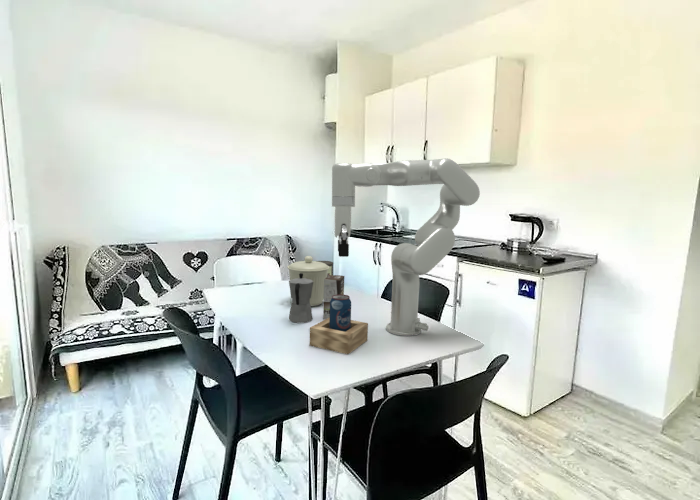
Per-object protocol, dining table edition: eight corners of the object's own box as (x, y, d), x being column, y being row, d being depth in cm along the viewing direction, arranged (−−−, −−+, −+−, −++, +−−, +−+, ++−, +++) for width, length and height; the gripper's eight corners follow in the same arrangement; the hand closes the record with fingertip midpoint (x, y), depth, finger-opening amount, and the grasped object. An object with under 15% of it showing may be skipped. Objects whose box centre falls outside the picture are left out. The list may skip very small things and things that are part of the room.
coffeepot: (291, 313, 166) (292, 269, 164) (315, 314, 166) (316, 270, 163) (283, 326, 151) (283, 277, 148) (309, 327, 150) (309, 278, 148)
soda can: (339, 337, 131) (340, 300, 129) (324, 331, 136) (325, 296, 134) (354, 332, 136) (356, 296, 134) (339, 327, 141) (340, 292, 139)
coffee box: (338, 321, 158) (340, 280, 156) (322, 320, 159) (323, 278, 157) (344, 314, 167) (345, 275, 165) (328, 313, 168) (329, 274, 166)
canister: (321, 297, 193) (322, 252, 190) (334, 307, 176) (335, 258, 173) (282, 299, 186) (283, 253, 183) (292, 311, 170) (293, 260, 167)
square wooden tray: (367, 340, 139) (368, 323, 138) (348, 354, 127) (348, 335, 126) (331, 332, 145) (331, 316, 145) (309, 345, 133) (309, 327, 132)
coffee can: (320, 286, 213) (320, 259, 211) (336, 290, 207) (337, 262, 205) (307, 290, 204) (308, 262, 202) (324, 294, 199) (325, 265, 197)
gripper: (331, 201, 143) (331, 250, 146) (332, 203, 126) (332, 258, 129) (353, 201, 144) (352, 250, 146) (356, 203, 127) (356, 258, 129)
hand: (343, 253), depth 138 cm, fingers open, 9 cm apart
